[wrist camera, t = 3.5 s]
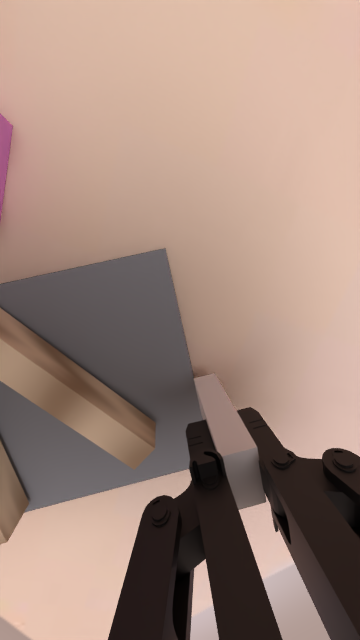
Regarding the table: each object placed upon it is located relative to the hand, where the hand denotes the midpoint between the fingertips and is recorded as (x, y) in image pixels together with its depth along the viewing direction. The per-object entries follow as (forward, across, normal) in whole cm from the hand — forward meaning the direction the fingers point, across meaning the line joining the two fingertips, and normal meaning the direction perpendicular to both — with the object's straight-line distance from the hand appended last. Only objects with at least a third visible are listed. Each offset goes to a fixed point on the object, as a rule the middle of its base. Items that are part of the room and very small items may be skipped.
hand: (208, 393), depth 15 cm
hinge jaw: (+1, -9, +3) cm, 10 cm away
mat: (+2, -9, +2) cm, 9 cm away
